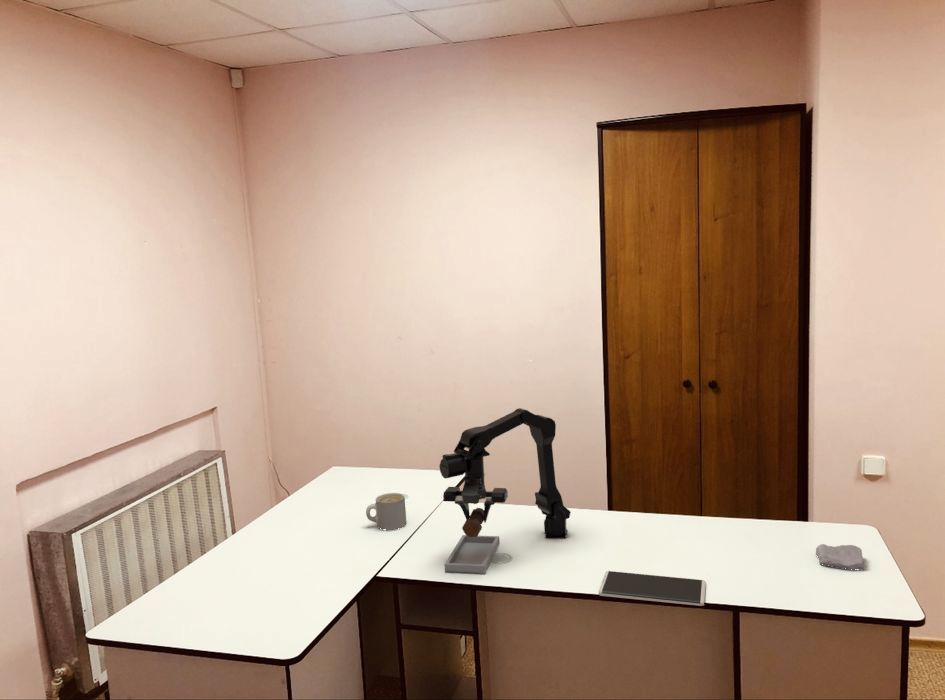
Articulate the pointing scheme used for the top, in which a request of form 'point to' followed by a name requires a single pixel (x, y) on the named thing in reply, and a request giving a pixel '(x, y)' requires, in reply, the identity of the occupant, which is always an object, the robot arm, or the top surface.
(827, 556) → the stone block
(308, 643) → the top surface
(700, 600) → the smartphone
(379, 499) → the coffee mug
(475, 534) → the bolt
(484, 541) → the parts tray
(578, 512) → the top surface
